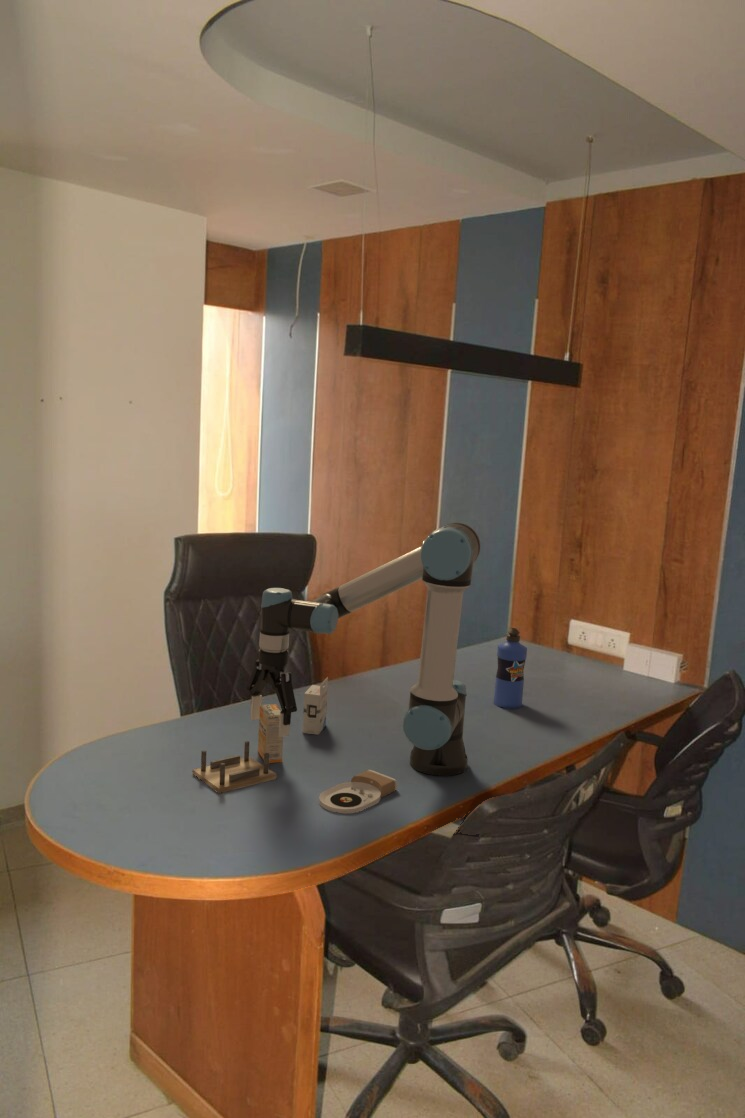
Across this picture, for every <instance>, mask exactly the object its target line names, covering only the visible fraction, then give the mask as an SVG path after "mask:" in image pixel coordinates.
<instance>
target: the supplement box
mask: <svg viewBox="0 0 745 1118" xmlns="http://www.w3.org/2000/svg"><path fill="white" fill-rule="evenodd" d="M281 711H282V709H281V708H280V707H279V706H278V705H277V704H276V703H275V704H262V705H260V712H259V719H258V739H257V740H258V741H257V742H258V744H257V746H258V747H257V752H258V753H259V755H260V756H261V758H262V760H263V761H264V753H269V764H274V763H283V749H284V748H283V746H284V737H279V721H280V712H281Z"/></svg>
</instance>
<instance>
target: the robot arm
mask: <svg viewBox="0 0 745 1118" xmlns="http://www.w3.org/2000/svg"><path fill="white" fill-rule="evenodd" d="M480 552H481V541H480V538H479V535H478V534H477V531H475V529H474V528H473V527H472V526H469V525H468V524H466V523H462V522H451V523H449V524H446V525H444V526H441V527H439V528H437V529H434V530H433V531H431V533H430V534H429V535H428V536H427V537H426V538H425V539H424V540H423V542H422V545H421V546H418V547H416V548H414V549H413V550H410V551H409V552H407V553H405V554H403V555H400V556H398V557H397V558H394V559H393V560H390V561H389V562H387V563H385V564H382V565H380V566H378V567H376V568H374V569H372V570H370V571H368V572H366V573H363V574H362V575H360V576H358V577H356V578H353V579H352V580H350V581H348V582H345V583H343V584H341V585H339V586H338V587H336V588H334V589H331V590H328V591H326V592H324V593H322V594H321V595H320V596H318V597H316V598H314V599H312V600H310V601H309V600H302V599H301V600H299V599H296V598H293V593H292V590H290V589H286V588H282V587H270V588H267V589H265V590H264V591H263V592H262V597H261V604H260V630H259V639H258V640H259V641H258V644H259V645H258V647H259V649H258V659H257V660H254V664H253V665H254V666H253V667H254V668H253V671H252V673H251V676H250V678H249V681H248V683H247V686H246V691H248V692H249V694H250V696H251V701H250V706H251V707H250V721H256V720H258V721H259V712H260V705H263V704H262V703H263V702H262V701H263V695H262V694H263V690H264V689H265V687H266V686H267V684H269V685H270V686H271V687H272V689H274V691H275V693H276V696H277V701H278V703H279V706H280V710H281V712H280V721H279V737H283V738H284V737H285V738H286V737H289V736H290V728H291V727H290V726H291V721H292V720H291V719H292V713H295V712H297V711H298V707H297V703H296V697H295V692H294V688H293V682H292V679H293V677H292V673H291V672H285V669H284V667H285V666H287V665H288V662H289V650H288V649H289V643H290V630H291V629H292V630H298V631H302V632H309V633H310V632H311V633H315V634H319V635H320V634H328V635H330V634H332V633H334V631H335V629H336V628H337V626H338V621H339V620H338V619H341V618H343V617H345V616H347V615H349V614H351V613H352V612H355V611H357V610H359V609H361V608H363V607H366V606H367V605H370V604H372V603H374V602H376V601H378V600H380V599H383V598H385V597H387V596H389V595H390V594H393V593H396V592H397V591H399V590H401V589H404V588H405V587H408V586H410V585H412V584H414V583H416V582H419V581H422V582H423V584H424V585H425V586H426V588H427V590H426V600H425V607H424V608H425V609H424V619H423V627H422V637H421V638H422V639H421V647H420V648H421V649H420V656H419V667H418V676H417V677H418V678H417V683H415V684H414V685H412V686H411V688H410V690H409V691H410V693H409V699H408V700H409V703H408V709H407V711H406V713H405V715H404V717H403V722H402V729H403V733H404V735H405V737H406V738H407V740H408V742H410V743H411V744H412V746H413V748H412V749H411V751H410V755H409V765H410V766H411V767H412V768H413V769H415V770H416V771H418V772H421V773H423V774H429V775H432V776H433V775H434V776H442V777H443V776H444V777H445V776H455V775H460V774H461V773H464V772H465V771H467V769H468V761H469V760H468V755H467V754H466V748H465V744H464V743H465V742H464V738H463V737H464V727H465V726H464V723H465V709H466V698H467V695H468V693H467V685H466V684H465V683H464V682H463V681H460V680H457V679H454V678H455V669H456V661H457V660H456V659H457V651H458V642H459V641H458V640H459V633H460V632H459V631H460V627H461V626H460V624H461V615H462V608H463V607H462V606H463V597H464V592H465V591H466V590H468V589H469V588H470V587H471V585H472V577H473V576H472V575H473V568H474V563H475V561H477V560H478V557H479V555H480Z"/></svg>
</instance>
